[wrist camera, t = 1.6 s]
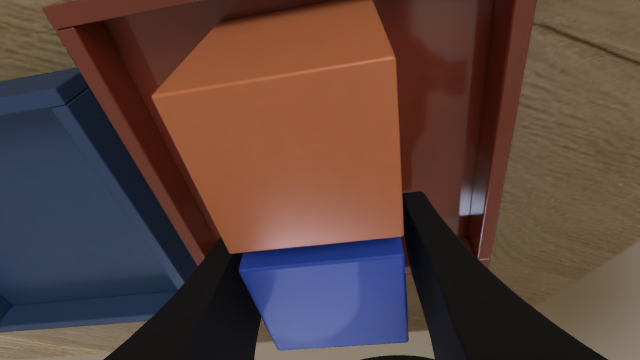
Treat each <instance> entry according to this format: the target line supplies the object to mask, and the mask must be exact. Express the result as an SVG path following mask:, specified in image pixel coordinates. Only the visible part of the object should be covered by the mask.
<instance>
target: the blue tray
mask: <svg viewBox="0 0 640 360" xmlns="http://www.w3.org/2000/svg"><path fill="white" fill-rule="evenodd" d="M197 267H198V266H197V264H196V263H195V261H194V259H193V258H192V256H191V254H190V253H189V251H188V249H187V248H186V246H185V244H184V243H183V241H182V239H181V238H180V236H179V235H178V233H177V231H176V230H175V228H174V226H173V225H172V223H171V221H170V220H169V218H168V216H167V215H166V213H165V211H164V210H163V208H162V206H161V205H160V203H159V201H158V200H157V198H156V196H155V195H154V193H153V192H152V190H151V188H150V187H149V185H148V183H147V182H146V180H145V178H144V177H143V175H142V173H141V172H140V170H139V168H138V167H137V165H136V163H135V162H134V160H133V158H132V157H131V155H130V153H129V152H128V150H127V149H126V147H125V145H124V144H123V142H122V140H121V139H120V137H119V135H118V134H117V132H116V130H115V129H114V127H113V125H112V124H111V122H110V120H109V119H108V117H107V115H106V114H105V112H104V110H103V109H102V107H101V106H100V104H99V102H98V101H97V99H96V97H95V96H94V94H93V92H92V91H91V89H90V87H89V86H88V84H87V82H86V81H85V79H84V77H83V76H82V74H81V72H80V71H79V69H78V68H74V69H68V70H63V71H57V72H52V73H46V74H41V75H35V76H29V77H24V78H18V79H13V80H7V81H2V82H0V332H12V331H25V330H38V329H51V328H64V327H77V326H90V325H103V324H115V323H128V322H141V321H148V320H149V319H150V318H152V317H153V316H154V315H155V314H156V313H157V312H158V311H159V310H160V309H161V308H162V307H163V306H164V305H165V304H166V302H167V301H168V300H169V299H170V298H171V297H172V296H173V295H174V294H175V293H176V292H177V291H178V290H179V289H180V287H181V286H182V285H183V284H184V283H185V282H186V280H187V279H188V278H189V277H190V275H191V274H192V273H193V272H194V271H195V269H196V268H197Z"/></svg>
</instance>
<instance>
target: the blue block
mask: <svg viewBox="0 0 640 360" xmlns="http://www.w3.org/2000/svg"><path fill="white" fill-rule="evenodd" d="M239 273H240V275H241V277H242V279H243V281H244V283H245V285H246V287H247V289H248V291H249V293H250V295H251V297H252V299H253V301H254V303H255V305H256V307H257V309H258V311H259V313H260V315H261V317H262V319H263V321H264V323H265V325H266V327H267V329H268V331H269V333H270V335H271V337H272V339H273V341H274V343H275V345H276V347H277V349H278V350H294V349H309V348H310V349H311V348H325V347H341V346H357V345H374V344H390V343H405V342H408V340H409V338H408V316H407V295H406V273H405V254H404V249H403V245H402V240H401V237H394V238H384V239H374V240H364V241H354V242H344V243H334V244H324V245H314V246H304V247H294V248H284V249H274V250H264V251H254V252H244V253H243V255H242V259H241V263H240V267H239Z"/></svg>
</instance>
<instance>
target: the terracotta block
mask: <svg viewBox="0 0 640 360" xmlns="http://www.w3.org/2000/svg"><path fill="white" fill-rule="evenodd" d="M152 100H153V102H154V104H155V106H156V108H157V110H158V112H159V114H160V116H161V118H162V120H163V122H164V124H165V126H166V128H167V130H168V132H169V134H170V136H171V138H172V140H173V142H174V144H175V146H176V148H177V150H178V152H179V154H180V156H181V158H182V160H183V162H184V164H185V166H186V168H187V170H188V172H189V174H190V176H191V178H192V180H193V182H194V184H195V186H196V188H197V190H198V192H199V194H200V196H201V198H202V200H203V202H204V204H205V206H206V208H207V210H208V212H209V214H210V216H211V218H212V220H213V222H214V224H215V226H216V228H217V230H218V232H219V234H220V236H221V238H222V240H223V242H224V244H225V246H226V248H227V250H228V252H229V253H230V254H234V253H244V252H254V251H264V250H274V249H284V248H294V247H304V246H314V245H324V244H334V243H344V242H354V241H364V240H374V239H384V238H394V237H402V236H403V235H404V221H403V199H402V177H401V155H400V133H399V111H398V89H397V67H396V57H395V54H394V52H393V50H392V47H391V45H390V42H389V40H388V37H387V35H386V32H385V30H384V27H383V25H382V22H381V20H380V18H379V15H378V13H377V10H376V8H375V5H374V3H373V0H334V1H328V2H323V3H317V4H312V5H307V6H301V7H296V8H291V9H285V10H280V11H275V12H269V13H264V14H259V15H253V16H248V17H243V18H237V19H232V20H226V21H221V22H218V23H217V24H216V25H215V27H214V28H213V29H212V30H211V31H210V32H209V33H208V34H207V35H206V36H205V38H204V39H203V40H202V41H201V42H200V43H199V44H198V45H197V46H196V47H195V49H194V50H193V51H192V52H191V53H190V54H189V55H188V56H187V57H186V58H185V60H184V61H183V62H182V63H181V64H180V65H179V66H178V67H177V68H176V69H175V71H174V72H173V73H172V74H171V75H170V76H169V77H168V78H167V79H166V80H165V82H164V83H163V84H162V85H161V86H160V87H159V88H158V89H157V90H156V91H155V93H154V94H153V95H152Z"/></svg>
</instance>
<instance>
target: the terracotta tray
mask: <svg viewBox="0 0 640 360" xmlns="http://www.w3.org/2000/svg"><path fill="white" fill-rule="evenodd" d="M328 1H334V0H61V1H59V2H56V3H53V4H51V5H48V6H45V7H43V12H44V13H45V15H46V16H47V18H48V20H49V21H50V23H51V25H52V26H53V28H54V29H56V30H57V31H56V32H57V34H58V36H59V38H60V39H61V41H62V43H63V44H64V46H65V48H66V49H67V51H68V53H69V54H70V56H71V58H72V59H73V61H74V62H75V64H76V66H77V67H78V69H79V71H80V72H81V74H82V76H83V77H84V79H85V81H86V82H87V84H88V86H89V87H90V89H91V91H92V92H93V94H94V96H95V97H96V99H97V101H98V102H99V104H100V106H101V107H102V109H103V110H104V112H105V114H106V115H107V117H108V119H109V120H110V122H111V124H112V125H113V127H114V129H115V130H116V132H117V134H118V135H119V137H120V139H121V140H122V142H123V144H124V145H125V147H126V149H127V150H128V152H129V153H130V155H131V157H132V158H133V160H134V162H135V163H136V165H137V167H138V168H139V170H140V172H141V173H142V175H143V177H144V178H145V180H146V182H147V183H148V185H149V187H150V188H151V190H152V192H153V193H154V195H155V196H156V198H157V200H158V201H159V203H160V205H161V206H162V208H163V210H164V211H165V213H166V215H167V216H168V218H169V220H170V221H171V223H172V225H173V226H174V228H175V230H176V231H177V233H178V235H179V236H180V238H181V239H182V241H183V243H184V244H185V246H186V248H187V249H188V251H189V253H190V254H191V256H192V258H193V259H194V261H195V263H196V264H197V266H199V264H200V263H201V262H202V261H203V259H204V258H205V257H206V255H207V254H208V253H209V251H210V250H211V249H212V247H213V246H214V245H215V243H216V242H217V241H218V239H219V238H220V234H219V232H218V230H217V228H216V226H215V224H214V222H213V220H212V218H211V216H210V214H209V212H208V210H207V208H206V206H205V204H204V202H203V200H202V198H201V196H200V194H199V192H198V190H197V188H196V186H195V184H194V182H193V180H192V178H191V176H190V174H189V172H188V170H187V168H186V166H185V164H184V162H183V160H182V158H181V156H180V154H179V152H178V150H177V148H176V146H175V144H174V142H173V140H172V138H171V136H170V134H169V132H168V130H167V128H166V126H165V124H164V122H163V120H162V118H161V116H160V114H159V112H158V110H157V108H156V106H155V104H154V102H153V100H152V95H153V94H154V93H155V91H156V90H157V89H158V88H159V87H160V86H161V85H162V84H163V83H164V82H165V80H166V79H167V78H168V77H169V76H170V75H171V74H172V73H173V72H174V71H175V69H176V68H177V67H178V66H179V65H180V64H181V63H182V62H183V61H184V60H185V58H186V57H187V56H188V55H189V54H190V53H191V52H192V51H193V50H194V49H195V47H196V46H197V45H198V44H199V43H200V42H201V41H202V40H203V39H204V38H205V36H206V35H207V34H208V33H209V32H210V31H211V30H212V29H213V28H214V27H215V25H216V24H217V23H218V22H221V21H226V20H232V19H237V18H243V17H248V16H253V15H259V14H264V13H269V12H275V11H280V10H285V9H291V8H296V7H301V6H307V5H312V4H317V3H323V2H328ZM536 2H537V0H373V3H374V5H375V8H376V10H377V13H378V15H379V18H380V20H381V22H382V25H383V27H384V30H385V32H386V35H387V37H388V40H389V42H390V45H391V47H392V50H393V52H394V54H395V57H396V67H397V89H398V111H399V133H400V155H401V177H402V193H409V192H417V191H422V192H424V193H425V194H426V196H427V198H428V199H429V201H430V202H431V204H432V205H433V207H434V208H435V209H436V211H437V212H438V214H439V215H440V216H441V217H442V219H443V220H444V221H445V223H446V224H447V225H448V226H449V228H450V229H451V230H452V231H453V232H454V233H455V235H456V236H457V237H458V238H459V239H460V240H461V242H462V243H463V244H464V245H465V246H466V247H467V248H468V249H469V250H470V251H471V252H472V253H473V254H474V255H475V256H476V258H477V259H478V260H479V261H480V262H481V263H482V264H483V265H484V266H485V267H489V264H490V258H491V253H492V247H493V242H494V236H495V230H496V225H497V219H498V214H499V208H500V203H501V197H502V191H503V186H504V180H505V175H506V169H507V164H508V158H509V153H510V147H511V141H512V136H513V130H514V125H515V119H516V114H517V108H518V102H519V97H520V91H521V86H522V80H523V75H524V69H525V63H526V58H527V52H528V47H529V41H530V36H531V30H532V24H533V19H534V13H535V8H536ZM401 240H402V245H403V249H404V254H405V273H406V274H412V272H411V269H410V265H409V260H408V255H407V250H406V244H405V238H404V235H403V236H402V237H401Z"/></svg>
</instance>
